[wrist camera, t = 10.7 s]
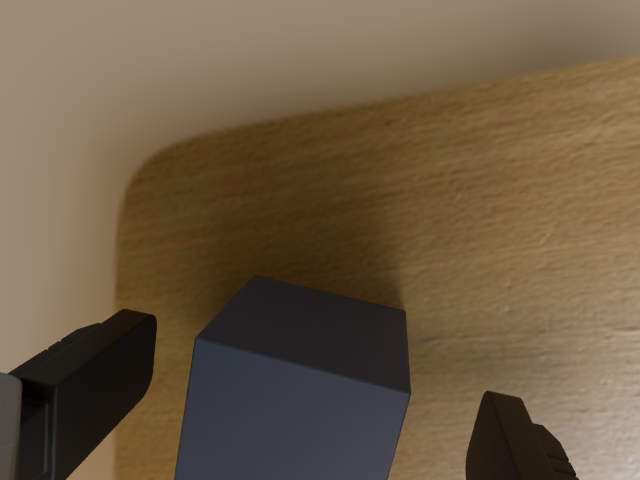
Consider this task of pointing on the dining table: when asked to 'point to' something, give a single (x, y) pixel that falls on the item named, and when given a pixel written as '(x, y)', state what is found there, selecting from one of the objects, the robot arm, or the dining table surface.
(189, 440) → the block
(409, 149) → the dining table surface
